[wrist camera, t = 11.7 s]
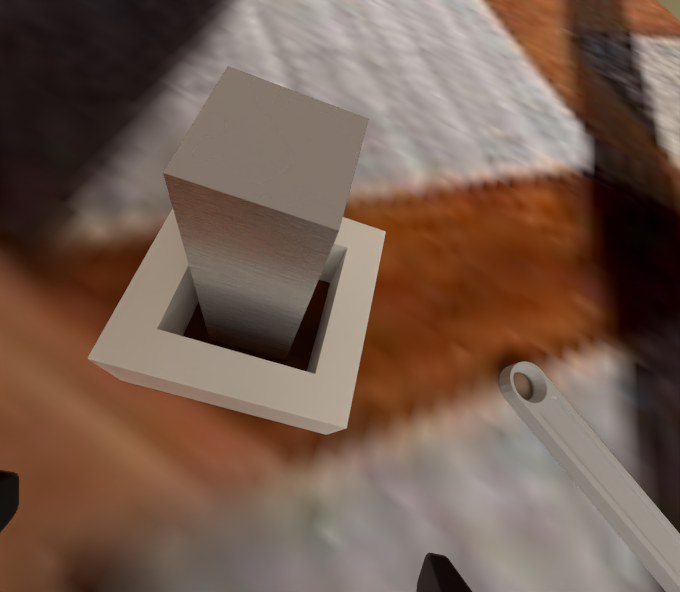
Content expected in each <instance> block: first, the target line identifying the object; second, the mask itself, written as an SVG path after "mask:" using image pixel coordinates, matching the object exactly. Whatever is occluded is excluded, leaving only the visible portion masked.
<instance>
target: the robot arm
mask: <svg viewBox="0 0 680 592" xmlns="http://www.w3.org/2000/svg"><path fill="white" fill-rule="evenodd" d="M18 505H19V476H18V475H17V473H14V472H9V471H4V470H0V532H1V531H2V530H3V529H4V527H5V526H6V525H7V524H8V523H9V521H10V520H11V519H12V517H13V516H14V514H15V513H16V511H17V509H18ZM417 592H472V591H471V589H470V588H469V586H468V585H467V584H466V582H465V581H464V580H463V578H462V577H461V575H460V574H459V573H458V571H457V570H456V569H455V567H454V566H453V564H452V563H451V562H450V560H449V559H448V558H447V557H446V556H444V555H439V554H434V553H428V554H427V555H426V557H425V559H424V563H423V566H422V569H421V572H420V575H419V578H418V582H417Z"/></svg>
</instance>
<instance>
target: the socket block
mask: <svg viewBox="0 0 680 592" xmlns="http://www.w3.org/2000/svg"><path fill="white" fill-rule="evenodd" d="M385 233H386V231H383V230H380V229H377V228H374V227H371V226H368V225H365V224H362V223H359V222H356V221H353V220H350V219H348V218H345V217H343V218H342V222H341V226H340V229H339V232H338V235H337V237H336V239H335V242H334V244H333V247H332V249H331V251H330V254H329V256H328V259H327V261H326V263H325V266H324V268H323V271H322V273H321V275H320V278H319V280H322V281H325V282H328V283H330V286H329V290H328V293H327V297H326V301H325V305H324V308H323V312H322V316H321V320H320V323H319V327H318V331H317V334H316V338H315V342H314V346H313V349H312V353H311V357H310V361H309V364H308V368H307V371H303V370H300V369H296V368H293V367H289V366H286V365H282V364H279V363H275V362H272V361H268V360H265V359H261V358H257V357H254V356H250V355H247V354H243V353H240V352H236V351H233V350H229V349H226V348H222V347H219V346H215V345H212V344H208V343H205V342H201V341H198V340H194V339H191V338H187V337H184V336H183V335H184V333H185V331H186V329H187V326H188V324H189V322H190V320H191V318H192V315H193V313H194V311H195V309H196V307H197V304H198V302H199V300H198V296H197V293H196V289H195V285H194V282H193V278H192V275H191V271H190V267H189V264H188V260H187V257H186V253H185V250H184V246H183V242H182V239H181V235H180V232H179V228H178V224H177V221H176V217H175V214H174V210H173V208H172V210H171V212H170V214H169V215H168V217H167V219H166V221H165V222H164V224H163V226H162V228H161V230H160V231H159V233H158V235H157V237H156V238H155V240H154V242H153V244H152V245H151V247H150V249H149V251H148V252H147V254H146V256H145V258H144V259H143V261H142V263H141V265H140V266H139V268H138V270H137V272H136V273H135V275H134V277H133V279H132V281H131V282H130V284H129V286H128V288H127V289H126V291H125V293H124V295H123V296H122V298H121V300H120V302H119V303H118V305H117V307H116V309H115V310H114V312H113V314H112V316H111V317H110V319H109V321H108V323H107V324H106V326H105V328H104V330H103V331H102V333H101V335H100V337H99V339H98V340H97V342H96V344H95V346H94V347H93V349H92V351H91V353H90V354H89V356H88V358H87V359H88V360H90V361H91V362H93V363H94V364H96V365H98V366H99V367H101V368H102V369H104V370H105V371H107V372H108V373H110V374H111V375H113V376H114V377H116V378H117V379H119V380H121V381H125V382H128V383H132V384H136V385H140V386H143V387H147V388H151V389H155V390H159V391H162V392H166V393H170V394H174V395H177V396H181V397H185V398H189V399H193V400H196V401H200V402H204V403H208V404H212V405H215V406H219V407H223V408H227V409H230V410H234V411H238V412H242V413H246V414H249V415H253V416H257V417H261V418H264V419H268V420H272V421H276V422H280V423H283V424H287V425H291V426H295V427H299V428H302V429H306V430H310V431H314V432H317V433H321V434H325V435H327V434H330V433H333V432H336V431H340V430H343V429H346V428H347V424H348V418H349V413H350V408H351V403H352V398H353V393H354V388H355V383H356V378H357V373H358V368H359V363H360V358H361V353H362V348H363V343H364V338H365V333H366V328H367V323H368V318H369V313H370V308H371V303H372V298H373V293H374V288H375V283H376V278H377V273H378V268H379V263H380V258H381V253H382V248H383V243H384V238H385Z"/></svg>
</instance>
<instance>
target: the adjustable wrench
mask: <svg viewBox="0 0 680 592" xmlns="http://www.w3.org/2000/svg"><path fill="white" fill-rule="evenodd" d="M515 372H520V373H522V374H524V375H525V376H526V377H527V378H528V380H529V381H530V384H531V386H532V397H531V399H529V400H525V399H523V398H522V397H521V396H520V395H519V393H518V392H517V390H516V388H515V385H514V381H513V376H514V373H515ZM499 387H500V390H501V393H502V395H503V396H504V398H505V399H506V401H507V402H508V403H509V404H510V405H511V407H512V408H513V409H514V410H515V411H516V413H517V414H518V415H519V416H520V417H521V419H522V420H523V421H524V422H525V423H526V425H527V426H528V427H529V428H530V429H531V431H532V432H533V433H534V434H535V435H536V437H537V438H538V439H539V440H540V441H541V443H542V444H543V445H544V446H545V447H546V449H547V450H548V451H549V452H550V453H551V455H552V456H553V457H554V458H555V459H556V461H557V462H558V463H559V464H560V465H561V467H562V468H563V469H564V470H565V471H566V473H567V474H568V475H569V476H570V477H571V479H572V480H573V481H574V482H575V483H576V485H577V486H578V487H579V488H580V489H581V491H582V492H583V493H584V494H585V495H586V496H587V498H588V499H589V500H590V501H591V502H592V504H593V505H594V506H595V507H596V508H597V510H598V511H599V512H600V513H601V514H602V516H603V517H604V518H605V519H606V520H607V522H608V523H609V524H610V525H611V526H612V528H613V529H614V530H615V531H616V532H617V534H618V535H619V536H620V537H621V538H622V540H623V541H624V542H625V543H626V544H627V546H628V547H629V548H630V549H631V550H632V552H633V553H634V554H635V555H636V556H637V558H638V559H639V560H640V561H641V562H642V564H643V565H644V566H645V567H646V568H647V570H648V571H649V572H650V573H651V574H652V576H653V577H654V578H655V579H656V580H657V582H658V583H659V584H660V585H661V586H662V588H663V589H664V590H665V591H666V592H680V534H679V532H678V531H677V530H676V529H675V528H674V527H673V525H672V524H671V523H670V522H669V521H668V519H667V518H666V517H665V516H664V515H663V513H662V512H661V511H660V510H659V509H658V508H657V506H656V505H655V504H654V503H653V502H652V500H651V499H650V498H649V497H648V496H647V494H646V493H645V492H644V491H643V490H642V489H641V487H640V486H639V485H638V484H637V483H636V481H635V480H634V479H633V478H632V477H631V476H630V474H629V473H628V472H627V471H626V470H625V468H624V467H623V466H622V465H621V464H620V462H619V461H618V460H617V459H616V458H615V457H614V455H613V454H612V453H611V452H610V451H609V449H608V448H607V447H606V446H605V445H604V443H603V442H602V441H601V440H600V439H599V438H598V436H597V435H596V434H595V433H594V432H593V430H592V429H591V428H590V427H589V426H588V425H587V423H586V422H585V421H584V420H583V419H582V417H581V416H580V415H579V414H578V413H577V411H576V410H575V409H574V408H573V407H572V406H571V404H570V403H569V402H568V401H567V400H566V398H565V397H564V396H563V395H562V394H561V392H560V391H559V390H558V389H557V388H556V387H555V385H554V384H553V383H552V382H551V381H550V379H549V378H548V377H547V376H546V375H545V374H544V372H543V371H542V370H541V369H540V368H539V367H538V366H536V365H534V364H533V363H531V362H526V361H523V362H518V363H516V364H513V365H510V366H508V367H506V368H504V369H503V371H502V372H501V374H500V377H499Z"/></svg>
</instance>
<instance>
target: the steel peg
mask: <svg viewBox="0 0 680 592" xmlns="http://www.w3.org/2000/svg"><path fill="white" fill-rule="evenodd" d="M367 123H368V119H367V118H365V117H362V116H359V115H357V114H354V113H351V112H349V111H346V110H343V109H341V108H338V107H335V106H333V105H330V104H327V103H325V102H322V101H319V100H317V99H314V98H311V97H309V96H306V95H303V94H300V93H298V92H295V91H292V90H290V89H287V88H284V87H282V86H279V85H276V84H274V83H271V82H268V81H266V80H263V79H260V78H258V77H255V76H252V75H250V74H247V73H244V72H242V71H239V70H236V69H234V68H231V67H227V68H226V70H225V72H224V73H223V75H222V77H221V78H220V80H219V82H218V83H217V85H216V87H215V88H214V90H213V91H212V93H211V95H210V96H209V98H208V100H207V101H206V103H205V105H204V106H203V108H202V110H201V111H200V113H199V115H198V116H197V118H196V119H195V121H194V123H193V124H192V126H191V128H190V129H189V131H188V133H187V134H186V136H185V138H184V139H183V141H182V143H181V144H180V146H179V147H178V149H177V151H176V152H175V154H174V156H173V157H172V159H171V161H170V162H169V164H168V166H167V167H166V169H165V171H164V172H163V174H164V178H165V181H166V185H167V188H168V192H169V196H170V199H171V203H172V206H173V210H174V214H175V217H176V221H177V224H178V228H179V232H180V235H181V239H182V242H183V246H184V250H185V253H186V257H187V260H188V264H189V267H190V271H191V275H192V278H193V282H194V285H195V289H196V293H197V296H198V300H199V303H200V307H201V311H202V314H203V318H204V321H205V325H206V329H207V332H208V336H209V339H210V340H213V341H217V342H221V343H224V344H228V345H232V346H235V347H239V348H242V349H246V350H250V351H253V352H257V353H261V354H264V355H268V356H271V357H275V358H279V359H282V360H286V357H287V355H288V352H289V350H290V348H291V345H292V343H293V340H294V338H295V335H296V333H297V331H298V328H299V326H300V323H301V321H302V319H303V316H304V314H305V311H306V309H307V307H308V304H309V302H310V299H311V297H312V295H313V292H314V290H315V287H316V285H317V283H318V280H319V278H320V275H321V273H322V271H323V268H324V266H325V263H326V261H327V259H328V256H329V254H330V251H331V249H332V247H333V244H334V242H335V239H336V237H337V235H338V232H339V229H340V226H341V222H342V218H343V214H344V210H345V207H346V203H347V199H348V195H349V191H350V188H351V184H352V180H353V176H354V173H355V169H356V165H357V161H358V157H359V154H360V150H361V146H362V142H363V138H364V135H365V131H366V127H367Z"/></svg>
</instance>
